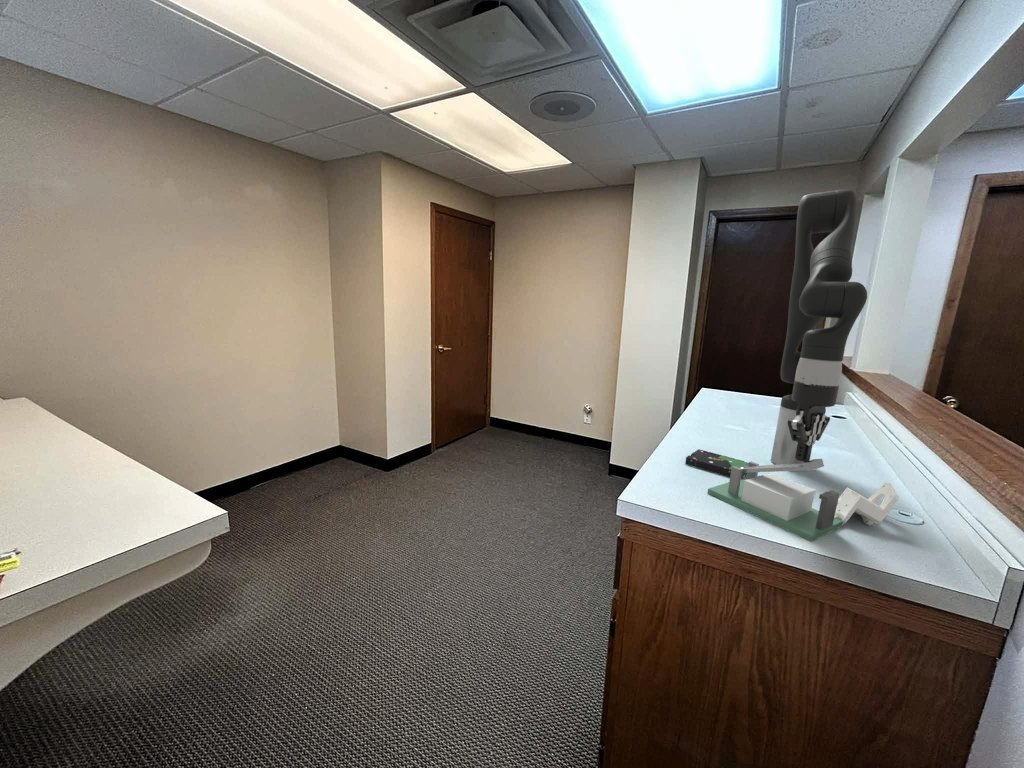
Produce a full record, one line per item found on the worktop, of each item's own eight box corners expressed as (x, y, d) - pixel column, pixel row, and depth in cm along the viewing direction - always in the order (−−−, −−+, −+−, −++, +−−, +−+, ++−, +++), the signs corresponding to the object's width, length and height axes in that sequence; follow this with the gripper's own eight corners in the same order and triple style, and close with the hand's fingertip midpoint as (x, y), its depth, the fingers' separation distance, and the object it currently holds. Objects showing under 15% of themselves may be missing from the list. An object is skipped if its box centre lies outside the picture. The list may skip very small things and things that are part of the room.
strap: (749, 470, 101) (747, 462, 102) (824, 467, 87) (822, 458, 87) (736, 473, 99) (734, 466, 99) (812, 471, 84) (809, 462, 85)
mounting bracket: (865, 540, 87) (904, 504, 82) (833, 521, 89) (869, 484, 85) (856, 517, 97) (890, 483, 92) (828, 499, 99) (860, 466, 95)
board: (738, 483, 108) (743, 455, 106) (842, 525, 88) (849, 492, 87) (707, 493, 101) (711, 463, 100) (811, 541, 82) (819, 505, 80)
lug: (824, 521, 88) (831, 489, 86) (832, 524, 86) (839, 492, 85) (812, 526, 85) (819, 494, 84) (820, 530, 84) (827, 497, 82)
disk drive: (684, 466, 120) (740, 482, 110) (685, 457, 119) (742, 472, 109) (696, 457, 127) (750, 471, 117) (698, 448, 127) (752, 462, 117)
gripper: (812, 376, 92) (798, 450, 95) (780, 379, 85) (766, 459, 88) (853, 382, 85) (837, 461, 88) (821, 386, 79) (805, 471, 82)
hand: (802, 460), depth 88 cm, fingers closed
